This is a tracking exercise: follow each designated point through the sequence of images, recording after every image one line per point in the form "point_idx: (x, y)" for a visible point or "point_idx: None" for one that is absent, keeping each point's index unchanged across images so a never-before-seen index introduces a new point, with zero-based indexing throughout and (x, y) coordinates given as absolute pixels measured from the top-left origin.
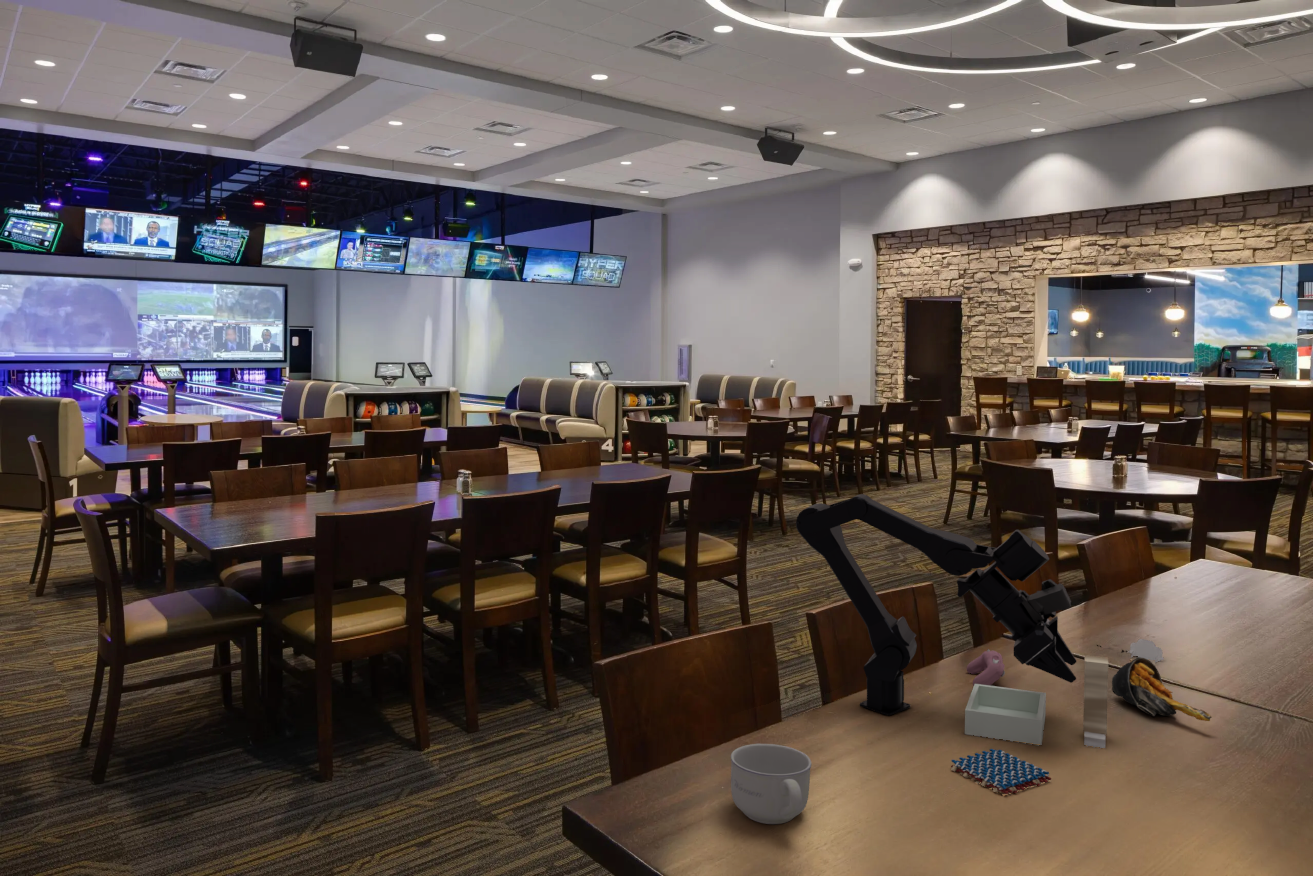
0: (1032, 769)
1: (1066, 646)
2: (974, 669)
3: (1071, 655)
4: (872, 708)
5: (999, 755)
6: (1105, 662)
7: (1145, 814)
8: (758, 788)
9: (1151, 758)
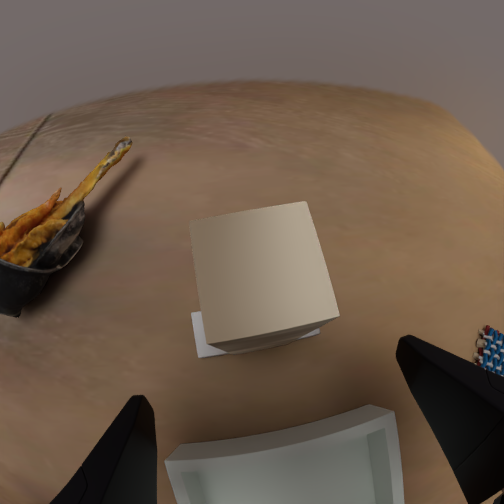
0: (494, 352)
1: (117, 457)
2: None
3: (135, 421)
4: None
5: None
6: (292, 215)
7: (472, 206)
8: None
9: None
